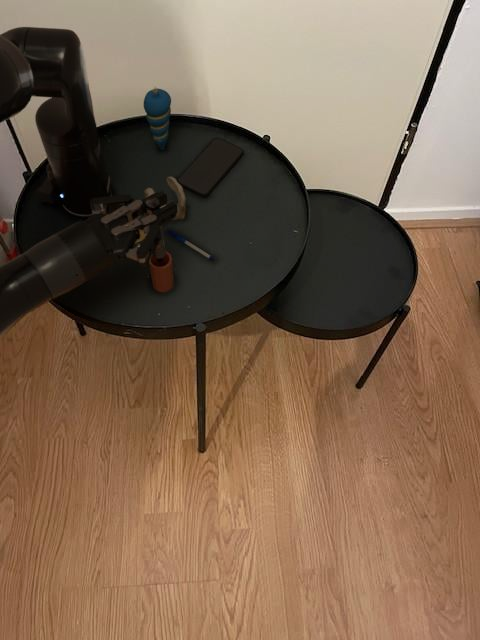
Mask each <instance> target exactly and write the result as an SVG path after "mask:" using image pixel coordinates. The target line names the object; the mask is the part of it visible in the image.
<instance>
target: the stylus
mask: <svg viewBox="0 0 480 640" xmlns="http://www.w3.org/2000/svg"><path fill="white" fill-rule="evenodd" d="M145 204H146V210H147V214H146V216H149V215H151V214H153V212H155V211H157V210H159V209H160V201H159V199H158V198H156V197H149V198H148V199H147V200H146V201H145ZM160 229H161V238H162V239H161V241H160V242H159V244H158V246H157V247H156V249H155V251H154V253H153V256H154V257H155V258H157V261H158V262H162V261H163V257H164V256H165V251H166V247H165V237H164V229H163V225H162V226H160Z"/></svg>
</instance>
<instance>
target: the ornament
mask: <svg viewBox="0 0 480 640" xmlns="http://www.w3.org/2000/svg"><path fill="white" fill-rule="evenodd" d="M171 106H172V97H171V95H170V93H168V91H166V90H165V89H162V88H157V87H153V88H152V89H150V90H148V91H147V92H146V94H145V96H144V99H143V109H144V112H145V113H146V116H145V118H146V120H147V122H148V124H149V129H150V132H151V134H152V139H153V141H154V144H156V145H157V147H158V148H159V149H160V151H164V150H165V148H166V144H167V142H168V139H169V128H170V117H171V113H172V108H171Z"/></svg>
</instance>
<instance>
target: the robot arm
mask: <svg viewBox="0 0 480 640" xmlns="http://www.w3.org/2000/svg"><path fill="white" fill-rule="evenodd" d="M85 57H86V56H85V52H84V49H83V45H82V42H81V39H80V37H79V36H78V34H77V33H76V32H75V31H73V30H72V29H68V28H54V27H53V28H52V27H35V26H34V27H33V26H19V27H15V28H11V29H9V30H7V31H4V32H3V33H1V34H0V124H1V123H3V122H5V121H7V120H9V119H12V118H13V117H15V116H17V115H19V114H21V112H22V111H23V110H24V109H25V108H26V107H27V106H28V105H29V103H30V102H31V101H32V98H33V97H37V98H48V99H46V100H45V101H43V102H42V103H41V104H40V105H39V107H38V108H37V110H36V112H35V117H34V120H35V125H36V129H37V131H38V134H39V137H40V140H41V143H42V146H43V149H44V152H45V155H46V159H47V161H48V164H47V165H46V167H45V168H46V169H45V170H46V173H47V176H46V178H45V179H44V181H43V182H42V184H41V186H40V187H38V188H37V189H36V196H37V199H39V201H40V202H41V203H42V204H44V203H48V204H52V205H54V204H55V202H57V206H59V207H61V208H63V210H65V212H67V214H69V215H70V216H73V217H76V218H79V219H86V220H78V221H77V222H74V223H72V224H70V225H69V226H67V227H65V228H64V229H62V230H60V231H58V232H56V233H54V234H52V235H51V236H48V237H47V238H44V239H43V240H41V241H40V242H37V243H36V244H35V245H33V246H32V247H31V248H29V249H27V250H26V251H24V252H23V253H21V254H19V255H18V256H16V257H13V258H12V259H10V260H8V261H7V262H5V263H3V264H1V265H0V340H1V339H3V337H4V336H5V335H6V334H8V332H9V331H11V329H12V328H14V327H15V326H16V325H17V323H18V322H20V321H21V320H22V319H23V318H24V317H25V316H27V315H28V314H30V313H31V312H33V311H35V310H36V309H38V308H40V307H41V306H43V305H45V304H47V303H49V302H51V301H52V300H54V299H55V298H56V299H57V297H60V296H62V295H65V294H68V293H69V292H71V291H73V290H74V289H76V288H78V287H79V286H81V285H84V284H85V283H86V282H88V281H89V280H91V279H93V278H95V277H96V276H98V275H100V274H102V273H103V272H105V271H107V270H109V269H110V268H111V267H112V266H113V264H115V262H120V261H125V260H127V259H130V260H134V261H136V262H137V264H138V266H140V267H145V266H147V264H149V259H150V258H151V256H152V254H153V253H154V251H155V249H156V247H157V246H158V244H159V242H160V241H161V239H162V238H161V229H160V226H162V227H163V225H165V224H168V223H169V222H170V221H173V220H172V219H174V218H175V217H176V214H177V212H178V210H177V206H178V203H177V204H176V202H175V201H170V202H168V195H167V194H166V192H164V191H160V192H159V191H157V192H155V193H154V194H152V195H150V196H148V197H146V196H145V198H142V199H134V198H133V196H132V195H131V194H128V193H127V194H120V195H119V194H118V195H117V194H116V195H113V192H112V189H111V186H110V184H111V176H110V175H108V172H107V167H106V163H105V159H104V154H103V150H102V145H101V140H100V135H99V130H98V127H97V122H96V117H95V112H94V111H95V110H94V107H93V106H94V105H93V98H92V93H91V89H90V83H89V77H88V71H87V64H86V58H85ZM149 197H156V198H158V199H159V201H160V207H162V206H164V205H165V204H166V205H165V206H164V207H162V208H160V209H159V210H157V211H155V212H153V214H151V215H149V216H147V210H146V204H145V201H146V200H147V199H148V198H149ZM145 214H146V216H144V215H145ZM139 242H141V243H139ZM135 245H136V246H135ZM134 246H135V247H134Z"/></svg>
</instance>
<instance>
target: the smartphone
mask: <svg viewBox="0 0 480 640" xmlns="http://www.w3.org/2000/svg"><path fill="white" fill-rule="evenodd" d="M244 153H245V151H244V149H243V148H242V147H240V146H237V145H235V144H233V143H231V142H229V141H226V140H225V139H223V138H220V137H215V138H213V139H212V140H211V141H210V142H209V143H208V144H207V145H206V146H205V147H204V148H203V150H202V151H201V152H200V153H199V154H198V155H197V157H196V158H194V160H193V161H192V162H191V163H190V164H189V165H188V166H187V168H185V170H184V171H183V172H182V173H181V174H180V175H179V176H178V177H177V179H176V180H177V182H178V183H179V184H180V185H181V186H182V188H183V189H186V190H188V191H190V192H192V193H194V194H195V195H198V196H200V197H202V198H206V197H208V196H210V194H212V192H213V190H214V189H215V188H216V187H217V186H218V185H219V184H220V183H221V181H223V179H224V178H225V176H226V175H227V174H228V173H229V172H230V171H231V169H232V168H234V166H235V165H236V164H237V163H238V162H239V161H240V158H242V156H244Z"/></svg>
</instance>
